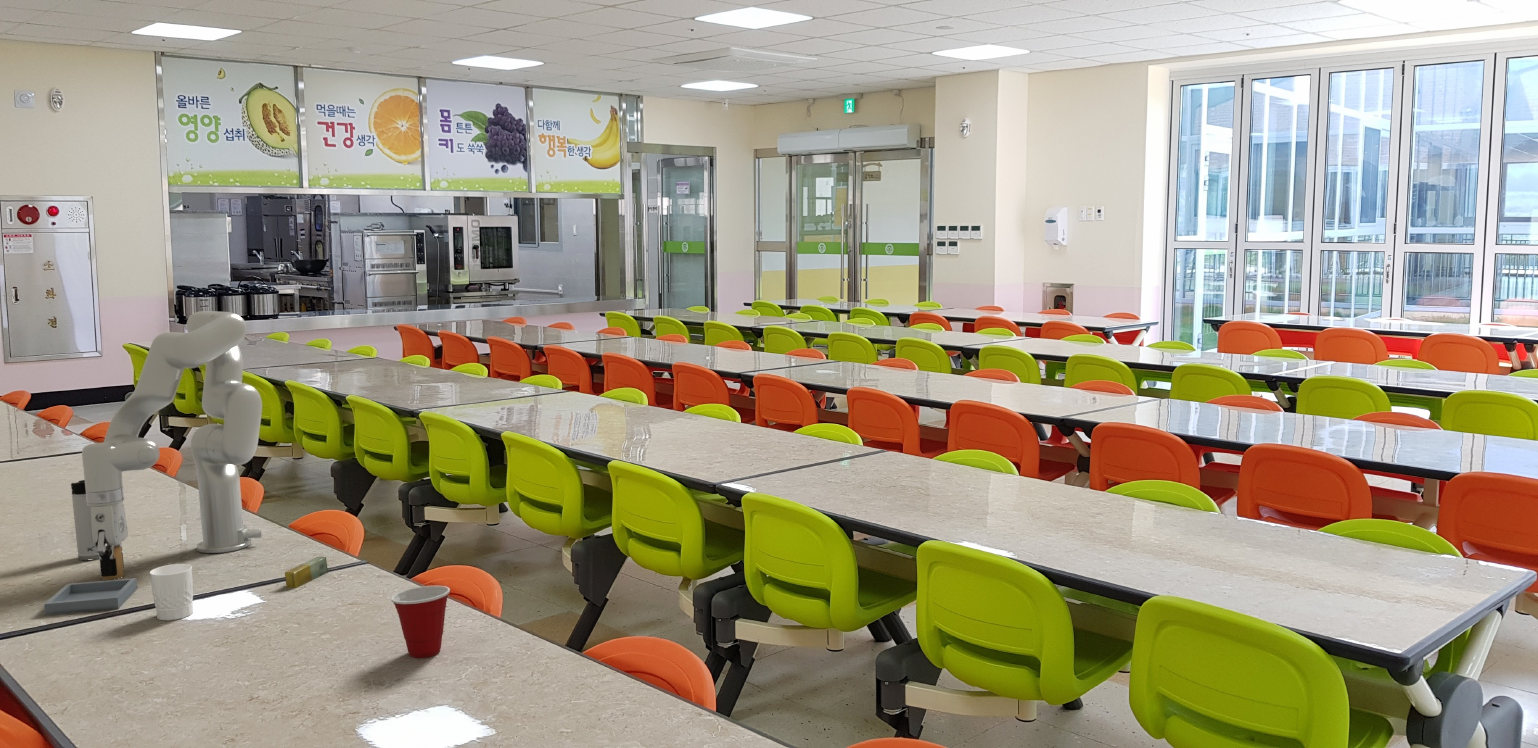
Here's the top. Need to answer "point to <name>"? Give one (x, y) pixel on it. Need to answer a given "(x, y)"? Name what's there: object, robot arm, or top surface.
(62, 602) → the tray
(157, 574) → the white cup
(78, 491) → the travel mug
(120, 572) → the battery cell
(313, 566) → the medication box
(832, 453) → the top surface
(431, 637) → the plastic cup
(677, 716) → the top surface
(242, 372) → the robot arm
